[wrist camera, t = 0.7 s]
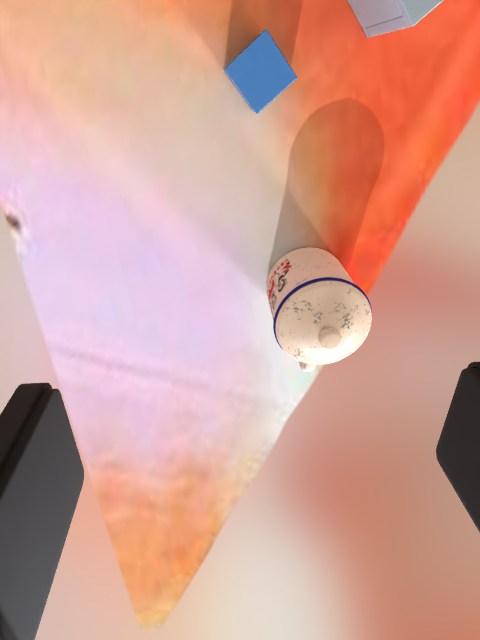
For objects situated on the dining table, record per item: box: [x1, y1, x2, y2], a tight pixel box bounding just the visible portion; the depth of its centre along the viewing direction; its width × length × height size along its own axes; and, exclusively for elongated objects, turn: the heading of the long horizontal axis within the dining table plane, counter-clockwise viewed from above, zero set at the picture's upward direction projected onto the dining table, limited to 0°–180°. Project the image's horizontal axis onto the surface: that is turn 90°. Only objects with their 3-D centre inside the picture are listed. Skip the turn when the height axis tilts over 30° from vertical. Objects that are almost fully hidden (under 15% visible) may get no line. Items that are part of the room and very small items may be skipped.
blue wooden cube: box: [224, 29, 297, 114], centre depth 33 cm, size 4×4×4 cm
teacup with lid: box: [266, 247, 372, 371], centre depth 41 cm, size 12×9×12 cm
